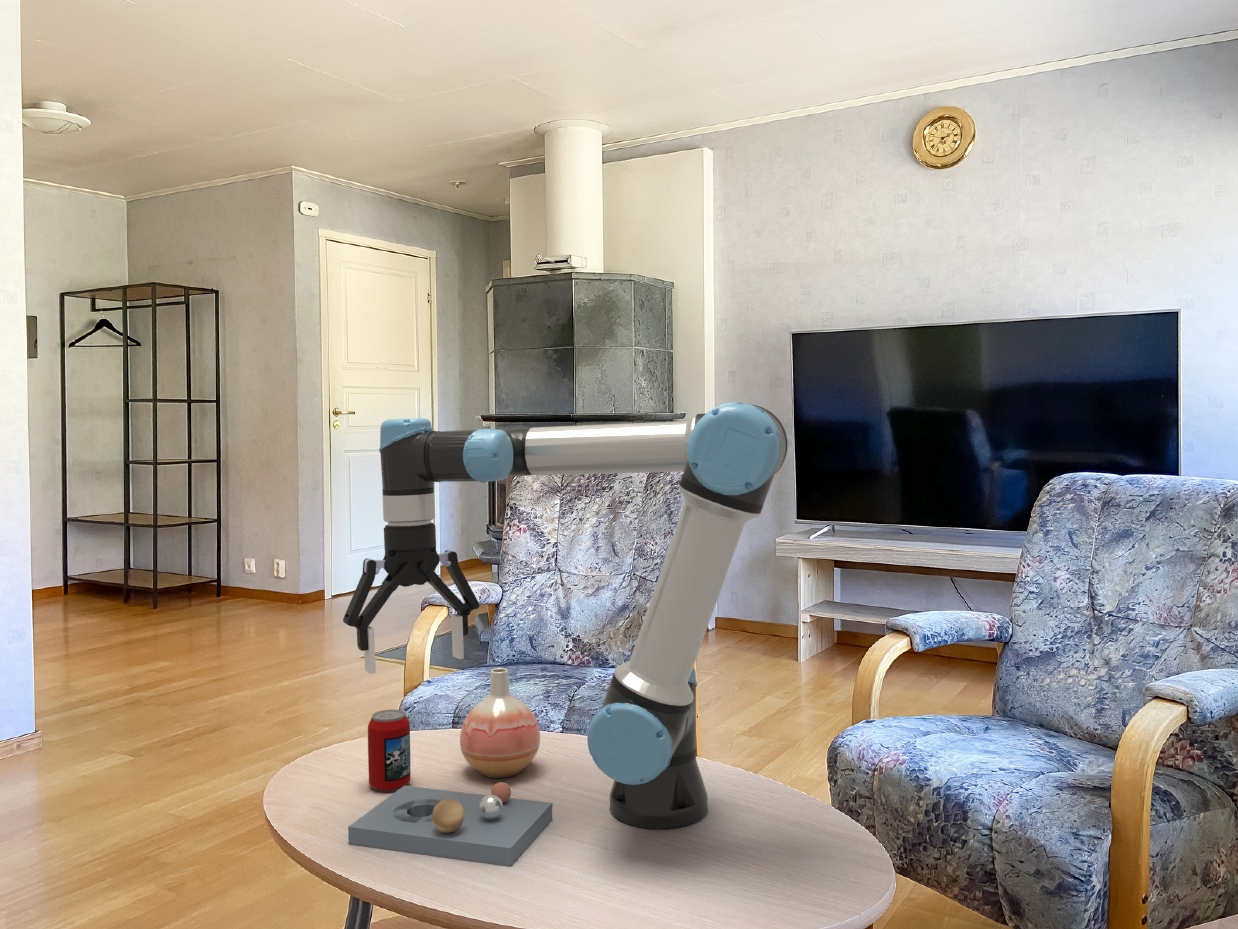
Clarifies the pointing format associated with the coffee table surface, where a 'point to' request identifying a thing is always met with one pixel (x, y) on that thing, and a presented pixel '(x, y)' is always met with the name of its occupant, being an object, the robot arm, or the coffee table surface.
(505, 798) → the rubber ball
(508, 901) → the coffee table surface
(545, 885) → the coffee table surface
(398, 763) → the beverage can
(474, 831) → the plate
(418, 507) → the robot arm
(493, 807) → the steel ball
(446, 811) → the wooden ball
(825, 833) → the coffee table surface
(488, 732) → the vase
